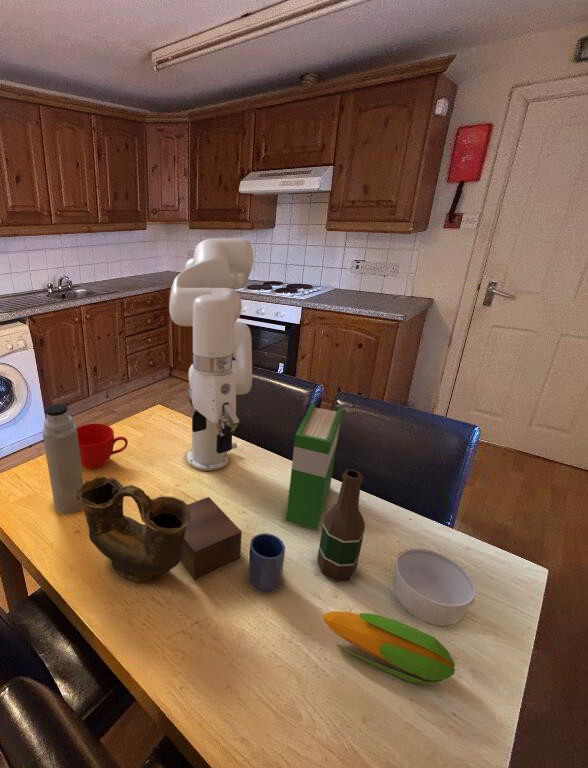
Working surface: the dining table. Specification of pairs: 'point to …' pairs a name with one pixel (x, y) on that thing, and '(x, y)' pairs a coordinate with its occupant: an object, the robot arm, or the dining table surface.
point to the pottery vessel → (134, 528)
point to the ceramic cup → (97, 444)
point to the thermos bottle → (63, 458)
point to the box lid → (208, 526)
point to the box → (211, 557)
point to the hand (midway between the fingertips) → (211, 440)
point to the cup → (266, 562)
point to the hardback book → (312, 466)
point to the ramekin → (432, 586)
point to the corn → (394, 645)
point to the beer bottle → (342, 531)
